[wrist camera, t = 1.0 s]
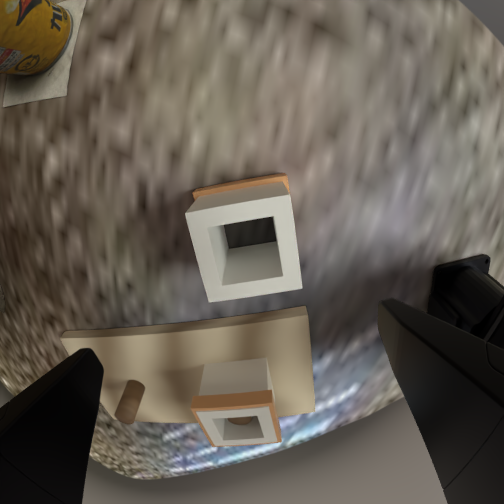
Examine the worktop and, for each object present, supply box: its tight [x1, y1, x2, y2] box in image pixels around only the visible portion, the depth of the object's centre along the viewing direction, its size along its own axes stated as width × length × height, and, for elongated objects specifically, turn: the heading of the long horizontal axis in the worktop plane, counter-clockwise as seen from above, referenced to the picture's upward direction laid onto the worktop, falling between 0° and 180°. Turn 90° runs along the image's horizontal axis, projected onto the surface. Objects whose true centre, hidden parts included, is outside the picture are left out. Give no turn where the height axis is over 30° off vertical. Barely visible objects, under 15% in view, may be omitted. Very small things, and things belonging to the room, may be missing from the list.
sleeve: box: [185, 173, 302, 303], centre depth 17 cm, size 6×6×5 cm
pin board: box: [60, 306, 315, 425], centre depth 22 cm, size 22×12×5 cm, turn 100°
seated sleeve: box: [190, 357, 282, 447], centre depth 21 cm, size 6×6×5 cm
